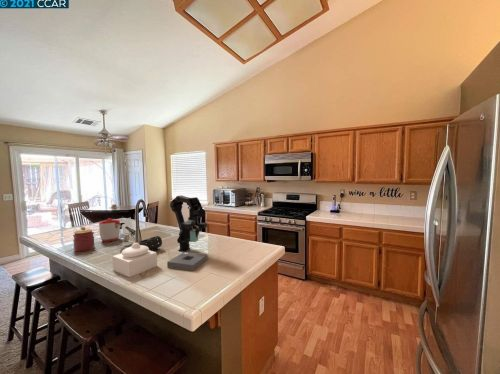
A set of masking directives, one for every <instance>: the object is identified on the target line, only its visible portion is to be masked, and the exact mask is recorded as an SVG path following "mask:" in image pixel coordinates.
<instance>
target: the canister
mask: <svg viewBox="0 0 500 374" xmlns="http://www.w3.org/2000/svg"><path fill="white" fill-rule="evenodd" d="M94 235H95V233H94V231H93V229H91V228H86V227H85V226H81V229H80V228H79V229H77V230H75V231H74V232H73V235H72V237H73V239H72V240H73V251H74V252H75V251H77V253H80V251H82V252H87V250H88V251H90V250H93V249H94V248H95V236H94Z"/></svg>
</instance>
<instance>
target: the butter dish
mask: <svg viewBox="0 0 500 374" xmlns="http://www.w3.org/2000/svg"><path fill="white" fill-rule="evenodd" d="M132 244H133V243H132ZM157 267H158V253H157V251H154V250H153V251H150V250H149V248H148V247H147V246H144V245H140V244H139V243H136V242H134V244H133V245H132V246H131V247H128V248H126V249H124V250H123V251H122V253H121V254H120V253H118V254H114V255H112V271H114V272H116V273H118V274H121V275H122V276H125V277H126V278H131V277H134V276H137V275H139V274H141V273H144V272H146V271H149V270H152V269H154V268H157Z"/></svg>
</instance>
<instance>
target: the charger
mask: <svg viewBox="0 0 500 374" xmlns="http://www.w3.org/2000/svg"><path fill="white" fill-rule="evenodd" d="M198 241H199V236H198V237H196V230H195V228H193V229H192V230H190V241H189V243H196V242H198Z"/></svg>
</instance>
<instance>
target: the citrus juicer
mask: <svg viewBox="0 0 500 374" xmlns="http://www.w3.org/2000/svg"><path fill="white" fill-rule="evenodd" d="M120 221H121V220H120V219H112V218H111V217H108V218H107V219H105V220H100V221H99V222H98V227H99V236H100V240H101V241H102V242H104V243H105V242H107V243H108V242H109V243H110V241H112V242H114V241H117V240H119V237H120V233H121V228H122V224H121V222H120Z"/></svg>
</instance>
